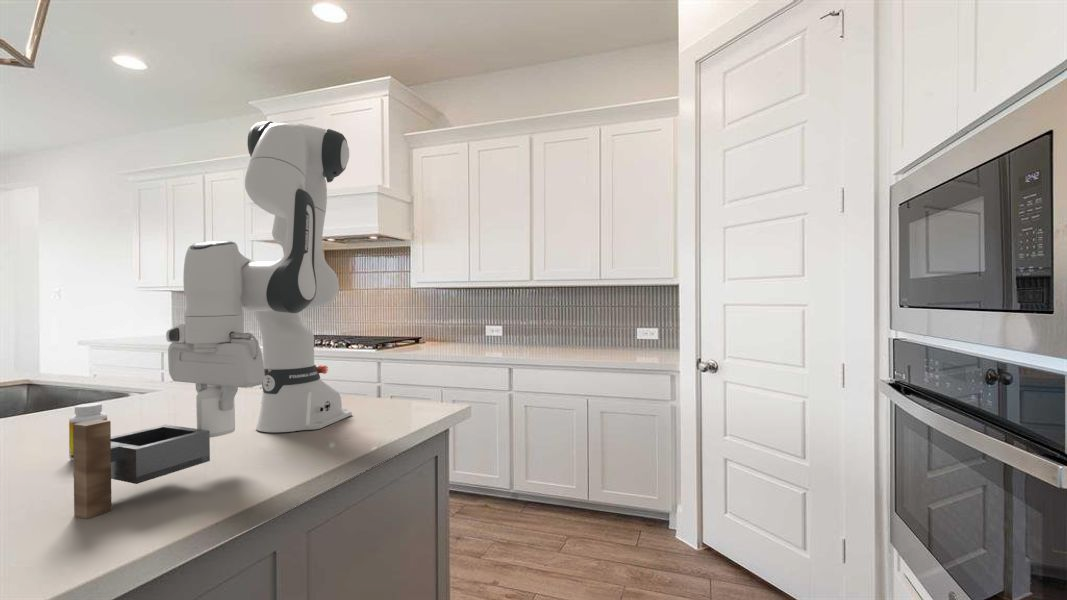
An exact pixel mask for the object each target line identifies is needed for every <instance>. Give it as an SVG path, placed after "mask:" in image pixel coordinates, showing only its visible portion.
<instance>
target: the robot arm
mask: <svg viewBox="0 0 1067 600" xmlns="http://www.w3.org/2000/svg"><path fill="white" fill-rule="evenodd" d="M247 151H248V153H249V156H250V160H249V163H248V166H247V169H246V172H245V177H244V188H245V191H246V193H247V195H248V197H249V199H250V200H251V201H252V202H253V203H254V204H255V205H256V206H258V208H259V209H262V210H264V212H266V213H269V214H271V215H273V216H274V219H273V225H272V231H271V234H272V238H273V240H274V241H275V242H276V243H277V244H278V245H279V246H280V247H281V248H282V251H283V256H282V257H281V258H280V259H277V260H275V261H273V260H272V261H266V260H265V261H255V260H252V259H250V258H248V257H246V256H244V255H243V254H242V253H241V252H240V251H239V247H238V244H237V243H236V242H234V241H231V240H212V241H209V240H208V241H200V242H195V243H193V244H191V245H190V246H189V247H188V248H187V250H186V253H185V257H184V263H183V276H182V277H183V293H184V295H185V296H184V297H185V298H186V308H185V310H184V322H182V323H180V324H179V325H178V324H177V325H175V326H174V327H172V328H170V329H167V331H166V332H165V336H166V341H167V342H168V343H170V344H169V345H168V350H167V357H168V358H167V363H168V373H169V376H170V378H171V380H172V381H173V382H176V383H185V384H188V383H189V384H195V391H196V394H198V393H199V392H201V391H203V390H205V389H207V388H208V387H207V384H208V385H219V386H221V391H222V392H224V393H223V396H222V399H221V401H218V403H219V410H221V411H228V410H232V409H233V399H234V400H235V397H236V395H237V393H238V390H239V388H243V389H247V388H253V387H257V386H261V388H262V396H261V404H260V411H259V416H258V418H257V419H258V420H257V423H256V426H255V430H256V431H259V432H261V433H262V432H264V433H289V432H296V431H308V430H311V431H312V430H319V429H322V428H324V427H326V426H329V425H333V423H336V422H339V421H341V420H344V419H346V418H347V417H351V416H352V415H353V412H352V410H349V409H347V408H346V409H345V408H343V404H342V397H341V394H340V392H338V390H336V389H335V388H333V387H332V386H330V385H329V384H328V383H326V382H325V381H323V380H322V379H321V375H320V374H323V375H324V374H327V373H328V372H329V367H328V365H318V366H317V365H316V364H315V336H314V333H313V331H312V330H311V329H310V328H309V327H308V326H306V325H305V324H304V322H303V321H302V320H301V317H300V315H299V313H301V312H303V311H304V310H308V309H309V310H313V309H316V308H321V307H324V306H327V305H331V304H332V303H333V302H334V301H335V299H336V298H337V296H338V293H339V288H340V283H339V279H338V275H337V274H336V272H335V270H334V269H332V268H331V266H330V265H329V264H328V263H327V260H326V259H325V255H324V251H323V233H324V225H325V218H326V211H327V205H328V203H327V201H328V197H327V196H328V193H327V192H328V189H327V185H328V183H332V182H333V181H334V179H335V178H337V177H339V176H340V175H341V174H342V173H343V172H344V171H345V170H346V168H347V166H348V163H349V159H350V148H349V144H348V140H347V138H346V137H345V135H344V133H341V132H339V131H336V130H333V129H332V128H328V129H325V128H322V127H317V126H313V125H308V124H300V123H299V124H294V123H287V122H273V121H260V122H256V123H255V124H253V125H252V126H251V127H250V129H249V131H248V135H247ZM248 311H252V312H253V313H254V316H255V318H256V320H257V322H258V326H259V329H260V332H261V339H262V349H261V347H260V342H259V340H258V339H257V337H255V336H254V335H253V333H251V332H245V331H244V326H245V325H244V312H248Z"/></svg>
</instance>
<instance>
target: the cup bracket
mask: <svg viewBox="0 0 1067 600" xmlns="http://www.w3.org/2000/svg"><path fill="white" fill-rule="evenodd" d="M111 426H112V425H111V420H108V419H107V420H100V419H97V420H92V421H86V422H81V423H76V424H73V458H74V461H73V517H78V518H83V519H84V520H85V519H86V520H89V519H91V518H93V517H97V516H99V515H103V514H106V513H108V512H111V511H112V507H113V505H112V480H116V481H121V482H123V483H124V482H125V483H129V484H135V485H137V484H141V483H146V482H148V481H150V480H154V479H157V478H160V477H163V476H167V475H169V474H172V473H176V472H180V471H182V470H186V469H189V468H191V467H194V466H198V465H202V464H205V463H208V462H210V461H211V449H210V448H211V443H210V441H211V438H210V431H209V430H202V429H197V428H195V427H194V428H193V427H185V426H178V425H171V424H164V425H163V424H162V425H159V426H155V427H151V428H150V427H149V428H145V429H141V430H136V431H132V432H128V433H122V434H119V435H115V436H111V434H112V433H111V429H112V428H111Z"/></svg>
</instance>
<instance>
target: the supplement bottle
mask: <svg viewBox="0 0 1067 600" xmlns="http://www.w3.org/2000/svg"><path fill="white" fill-rule="evenodd" d="M97 419H100V420H107V421H108V414H107V413H106V412H103V403H101V402H91V403H81V404H78V405H75V406H74V415H72V416H71V417H70V418H69V419H68V425H69V426H68V440H69V441H68V447H69V449H68V450H69V451H68V454H69V455H68V456H69V459H70V461H72V462H74V458H73V424H76V423H81V422H86V421H92V420H97Z"/></svg>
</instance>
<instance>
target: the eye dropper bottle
mask: <svg viewBox="0 0 1067 600" xmlns="http://www.w3.org/2000/svg"><path fill="white" fill-rule="evenodd" d="M207 387H208V388H207V389H205V390H203V391H201V392H199V393H196V398H195V399H196V403H195V405H196V407H195V408H196V429H202V430H209V431H210V439H211V438H217V437H221V436H225V435H228V434H232V433H234V432H235V430H236V414H235V410H236V409H235V406H236V405H235V398H234V399H233V409H232V410H228V411H221V410H219V403H218V401H221V399H222V396H223V393H224V392H222V391H221V386H219V385H208V384H207Z"/></svg>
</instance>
